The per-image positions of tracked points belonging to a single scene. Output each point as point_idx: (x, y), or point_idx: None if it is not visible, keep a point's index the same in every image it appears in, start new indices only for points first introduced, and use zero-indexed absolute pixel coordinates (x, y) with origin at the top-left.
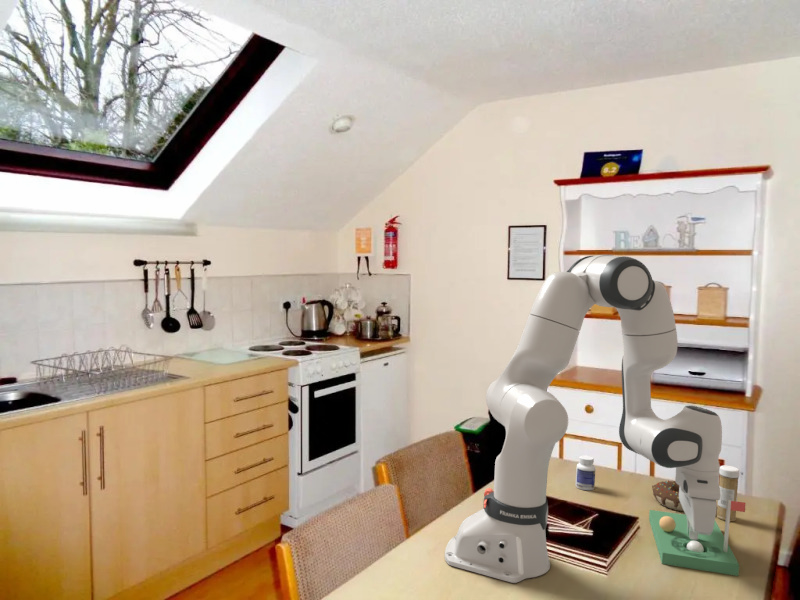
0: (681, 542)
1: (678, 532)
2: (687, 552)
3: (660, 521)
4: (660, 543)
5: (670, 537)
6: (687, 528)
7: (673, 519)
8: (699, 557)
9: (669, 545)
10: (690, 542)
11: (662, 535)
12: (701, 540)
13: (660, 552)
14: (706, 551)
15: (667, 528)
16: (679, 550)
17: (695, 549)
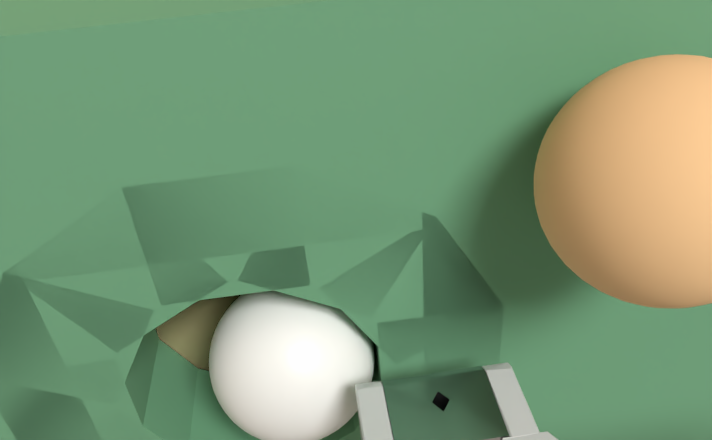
0: (309, 278)
1: None
2: (49, 332)
3: (681, 93)
4: (102, 35)
5: (405, 167)
6: (522, 404)
7: (701, 304)
8: (4, 420)
9: (117, 156)
10: (283, 374)
11: (434, 67)
12: None
13: (2, 10)
14: None
15: (535, 170)
16: (40, 263)
17: (214, 382)
